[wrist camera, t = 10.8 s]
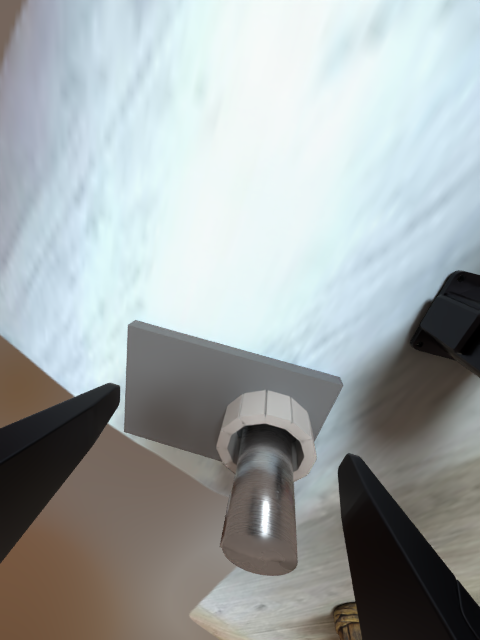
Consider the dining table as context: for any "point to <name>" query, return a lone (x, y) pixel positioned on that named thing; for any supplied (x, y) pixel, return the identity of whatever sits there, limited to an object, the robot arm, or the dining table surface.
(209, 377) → the duct plate
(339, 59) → the dining table surface
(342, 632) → the wooden mug
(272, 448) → the brushed steel cylinder
